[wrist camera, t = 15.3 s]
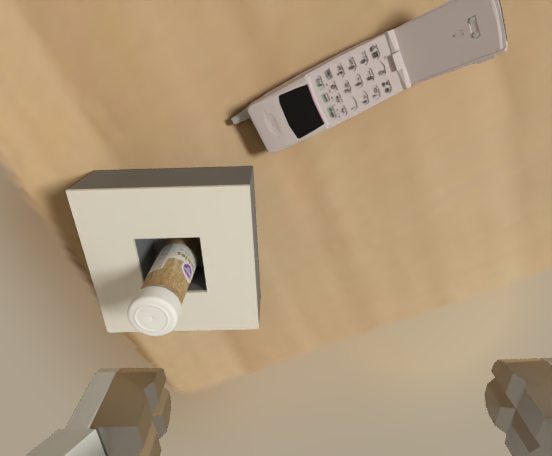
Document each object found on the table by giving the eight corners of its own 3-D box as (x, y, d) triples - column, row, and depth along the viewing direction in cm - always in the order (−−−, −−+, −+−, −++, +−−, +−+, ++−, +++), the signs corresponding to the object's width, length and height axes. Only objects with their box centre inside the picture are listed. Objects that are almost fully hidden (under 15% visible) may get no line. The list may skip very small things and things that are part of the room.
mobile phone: (512, 50, 32) (252, 176, 37) (478, 50, 37) (255, 160, 42) (496, -26, 29) (221, 119, 34) (463, -15, 35) (228, 110, 40)
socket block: (93, 170, 42) (65, 190, 37) (252, 166, 42) (249, 185, 36) (126, 299, 50) (107, 332, 45) (260, 295, 50) (258, 328, 44)
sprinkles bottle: (210, 249, 46) (187, 324, 34) (182, 267, 47) (149, 345, 35) (186, 221, 44) (153, 289, 32) (157, 240, 45) (114, 313, 33)
